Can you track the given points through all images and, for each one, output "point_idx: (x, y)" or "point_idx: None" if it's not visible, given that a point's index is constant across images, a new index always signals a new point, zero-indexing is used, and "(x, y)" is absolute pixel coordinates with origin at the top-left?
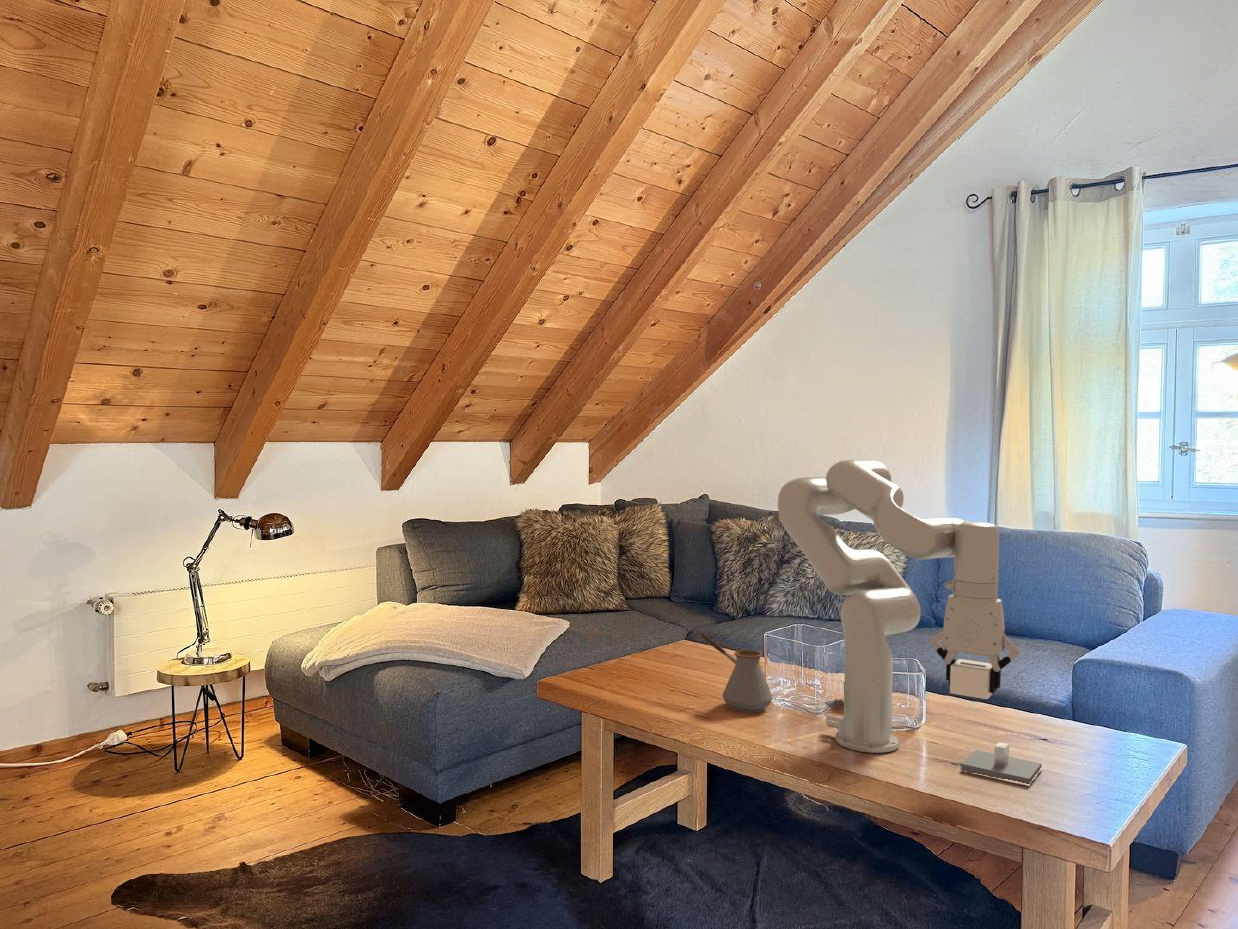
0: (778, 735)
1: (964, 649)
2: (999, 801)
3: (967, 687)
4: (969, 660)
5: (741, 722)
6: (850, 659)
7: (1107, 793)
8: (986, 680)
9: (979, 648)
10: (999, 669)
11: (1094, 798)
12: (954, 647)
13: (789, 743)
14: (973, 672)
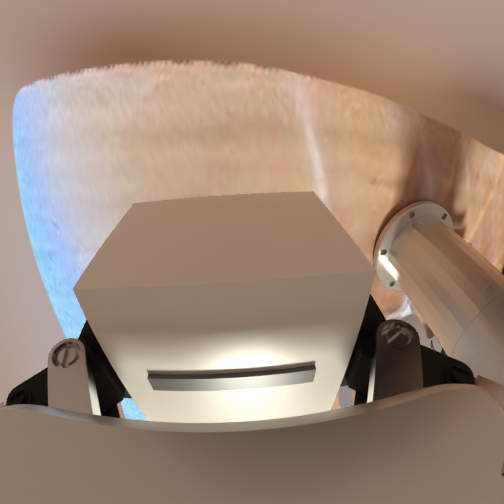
0: (498, 204)
1: (299, 455)
2: (155, 115)
3: (226, 211)
4: None
5: None
6: None
7: (64, 269)
8: (104, 250)
9: (101, 486)
10: (53, 350)
11: (64, 239)
12: (420, 429)
13: (489, 181)
14: (180, 268)
